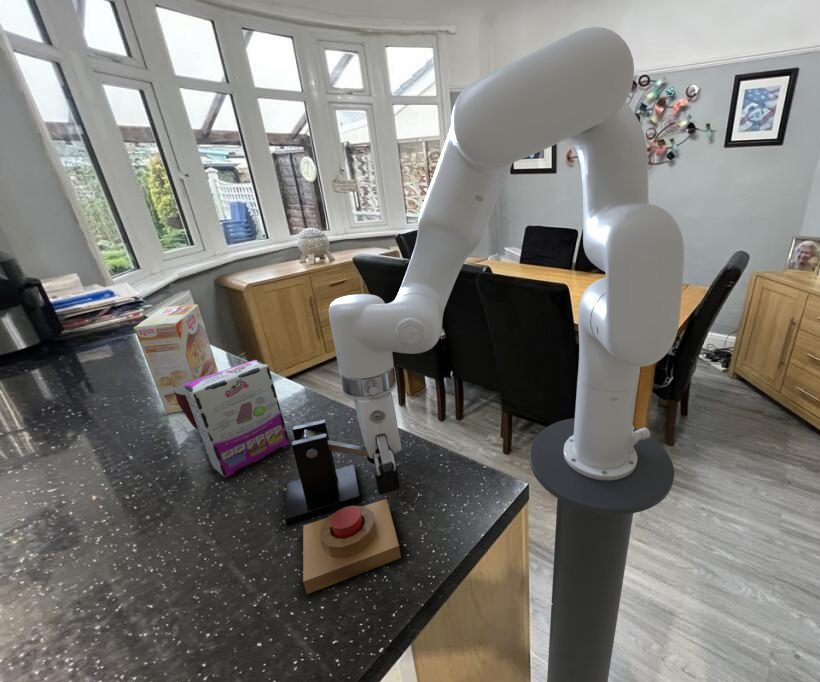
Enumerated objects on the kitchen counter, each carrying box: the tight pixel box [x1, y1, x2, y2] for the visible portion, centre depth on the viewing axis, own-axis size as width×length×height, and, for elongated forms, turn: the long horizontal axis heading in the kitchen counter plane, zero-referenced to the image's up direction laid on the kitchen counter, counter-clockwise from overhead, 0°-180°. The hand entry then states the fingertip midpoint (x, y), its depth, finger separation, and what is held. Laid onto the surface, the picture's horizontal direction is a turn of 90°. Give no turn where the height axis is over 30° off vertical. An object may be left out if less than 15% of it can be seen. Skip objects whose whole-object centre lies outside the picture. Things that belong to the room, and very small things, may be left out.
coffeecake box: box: [133, 303, 219, 415], centre depth 86 cm, size 15×7×20 cm, turn 22°
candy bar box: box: [182, 359, 291, 479], centre depth 67 cm, size 11×5×16 cm, turn 147°
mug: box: [174, 375, 209, 431], centre depth 77 cm, size 11×8×10 cm
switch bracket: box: [284, 419, 362, 526], centre depth 59 cm, size 10×8×12 cm
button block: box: [302, 498, 402, 595], centre depth 52 cm, size 11×9×4 cm
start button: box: [331, 506, 363, 539], centre depth 51 cm, size 4×4×2 cm
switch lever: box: [300, 430, 382, 465], centre depth 60 cm, size 13×3×3 cm
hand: (383, 471), depth 64 cm, fingers open, 9 cm apart
